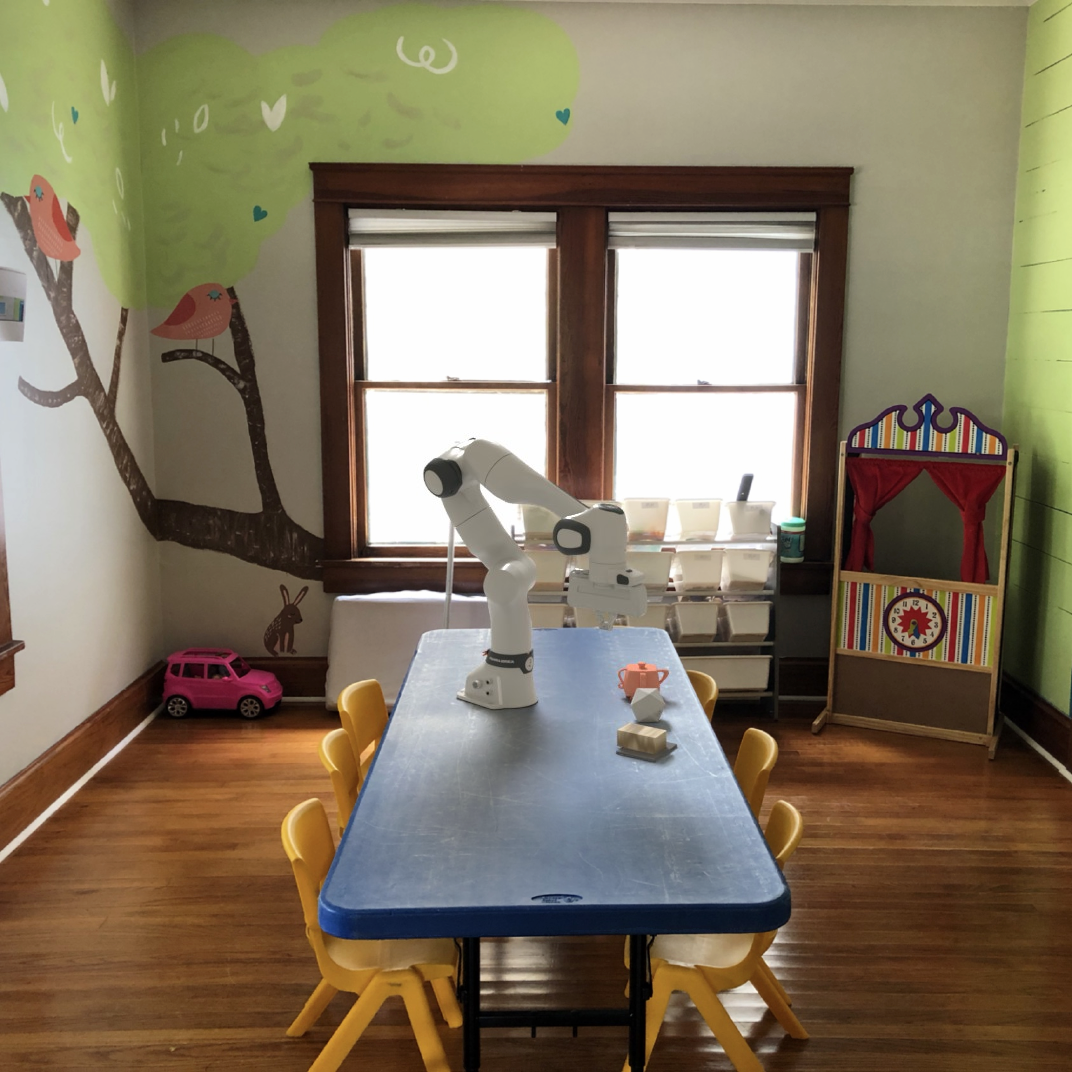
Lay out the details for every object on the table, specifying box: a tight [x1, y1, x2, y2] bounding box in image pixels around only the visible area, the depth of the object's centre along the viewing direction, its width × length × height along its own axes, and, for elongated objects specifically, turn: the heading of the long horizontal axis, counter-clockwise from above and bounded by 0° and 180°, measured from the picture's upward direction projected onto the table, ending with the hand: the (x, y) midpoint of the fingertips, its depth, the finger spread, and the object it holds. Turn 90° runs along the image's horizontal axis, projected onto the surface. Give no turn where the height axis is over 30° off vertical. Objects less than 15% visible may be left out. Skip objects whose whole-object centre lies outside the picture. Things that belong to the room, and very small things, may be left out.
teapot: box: [617, 661, 670, 701], centre depth 287 cm, size 12×12×10 cm
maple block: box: [616, 722, 668, 754], centre depth 248 cm, size 4×6×10 cm
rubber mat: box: [615, 741, 678, 763], centre depth 248 cm, size 10×12×1 cm
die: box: [629, 688, 667, 723], centre depth 268 cm, size 8×9×10 cm
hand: (605, 629), depth 250 cm, fingers closed
